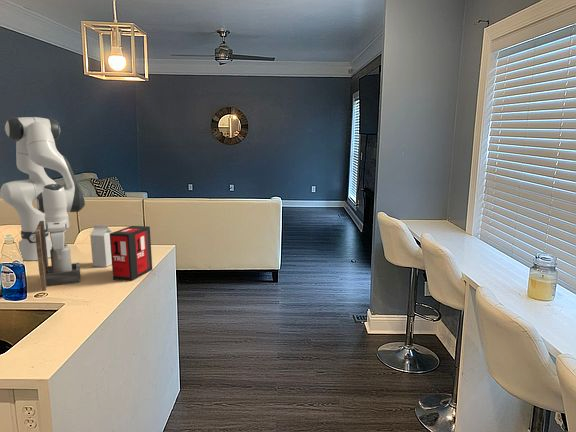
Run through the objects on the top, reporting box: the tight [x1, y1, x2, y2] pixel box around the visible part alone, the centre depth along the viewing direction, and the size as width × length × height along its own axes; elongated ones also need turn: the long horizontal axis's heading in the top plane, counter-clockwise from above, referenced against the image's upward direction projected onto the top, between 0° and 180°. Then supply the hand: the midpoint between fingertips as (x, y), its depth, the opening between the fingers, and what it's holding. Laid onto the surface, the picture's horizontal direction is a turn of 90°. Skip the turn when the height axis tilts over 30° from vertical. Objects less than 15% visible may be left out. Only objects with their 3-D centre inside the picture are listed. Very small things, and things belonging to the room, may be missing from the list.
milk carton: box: [89, 224, 114, 268], centre depth 215 cm, size 7×7×19 cm
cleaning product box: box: [110, 225, 153, 282], centre depth 199 cm, size 16×9×20 cm, turn 166°
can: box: [50, 243, 73, 273], centre depth 193 cm, size 8×8×12 cm
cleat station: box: [35, 221, 81, 292], centre depth 192 cm, size 24×14×24 cm, turn 24°
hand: (60, 256), depth 192 cm, fingers open, 7 cm apart
